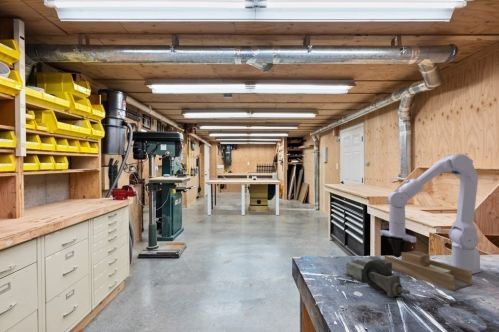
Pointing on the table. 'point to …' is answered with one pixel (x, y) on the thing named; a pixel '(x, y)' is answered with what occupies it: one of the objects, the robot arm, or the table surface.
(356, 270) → the stone block
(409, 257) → the walnut block
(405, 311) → the table surface
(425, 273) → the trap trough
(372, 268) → the caster wheel
